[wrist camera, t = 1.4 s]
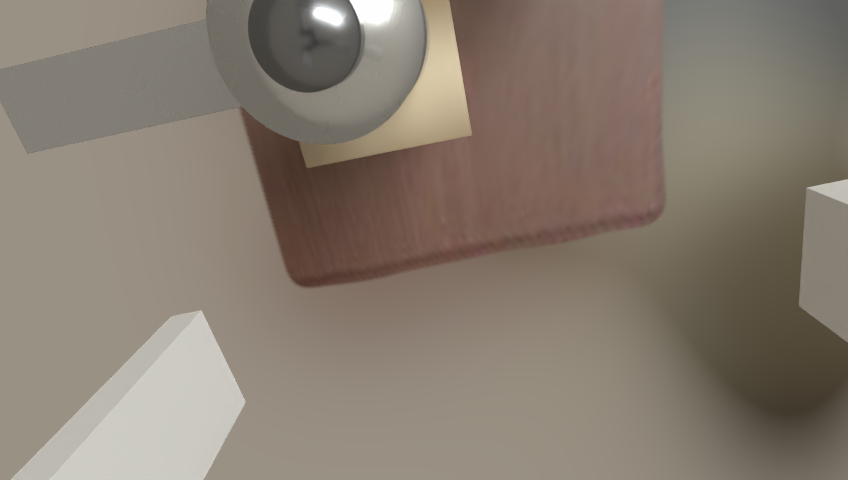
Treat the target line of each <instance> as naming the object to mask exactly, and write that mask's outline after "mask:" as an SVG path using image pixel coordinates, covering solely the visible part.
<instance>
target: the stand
mask: <svg viewBox="0 0 848 480" xmlns="http://www.w3.org/2000/svg"><path fill="white" fill-rule="evenodd" d="M421 1H422V3H423V6H424V8H425V11H426V13H427V17H428V21H429V27H430V50H429V55H428V60H427V63H426V66H425V68H424V71H423V73H422V75H421V77H420V79H419V80H418V82H417V83H416V85H415V86H414V87H413V89H412V90H411V92H410V93H409V95H408V96H407V98H406V99H405V101H404V102H403V103H402V105H401V106H400V108H399V109H398V110H397V111H396V112H395V113H394V114H393V115H392V117H391V118H390V119H389V120H387V121H386V122H385V123H384V124H382V125H381V126H380V127H379V128H377V129H375V130H374V131H372V132H370V133H369V134H367V135H365V136H362V137H360V138H358V139H355V140H351V141H348V142H344V143H337V144H311V143H304V142H300V141H299V144H300V148H301V151H302V154H303V158H304V161H305V164H306V167H307V168H311V167H316V166H321V165H326V164H331V163H336V162H341V161H346V160H351V159H356V158H361V157H366V156H370V155H375V154H380V153H385V152H390V151H395V150H400V149H405V148H410V147H415V146H420V145H425V144H430V143H435V142H440V141H445V140H450V139H455V138H460V137H465V136H470V135H472V133H471V127H470V121H469V115H468V109H467V103H466V97H465V91H464V85H463V79H462V73H461V67H460V61H459V55H458V50H457V44H456V38H455V32H454V26H453V20H452V14H451V8H450V2H449V0H421Z"/></svg>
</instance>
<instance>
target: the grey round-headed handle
mask: <svg viewBox="0 0 848 480" xmlns="http://www.w3.org/2000/svg"><path fill="white" fill-rule="evenodd" d="M429 50H430V27H429V21H428V17H427V13H426V11H425V8H424V6H423V3H422V1H421V0H207V10H206V19H205V20H201V21H197V22H193V23H189V24H185V25H181V26H177V27H173V28H168V29H164V30H160V31H156V32H153V33H148V34H144V35H140V36H136V37H131V38H128V39H124V40H119V41H115V42H111V43H107V44H103V45H99V46H94V47H90V48H86V49H82V50H78V51H74V52H70V53H66V54H62V55H58V56H53V57H49V58H45V59H42V60H37V61H33V62H29V63H25V64H21V65H17V66H12V67H8V68H4V69H0V102H1V103H2V106H3V107H4V109H5V111H6V113H7V115H8V117H9V119H10V121H11V123H12V125H13V126H14V129H15V130H16V132H17V134H18V136H19V138H20V140H21V142H22V144H23V146H24V148H25V150H26V152H27V153H33V152H37V151H42V150H46V149H51V148H55V147H59V146H64V145H69V144H74V143H78V142H83V141H87V140H92V139H96V138H101V137H105V136H110V135H115V134H119V133H124V132H128V131H133V130H137V129H142V128H146V127H151V126H155V125H160V124H164V123H169V122H174V121H178V120H183V119H187V118H192V117H196V116H201V115H205V114H210V113H215V112H219V111H224V110H228V109H233V108H237V107H243V108H244V109H245V110H246V111H247V112H248V113H249V114H250V115H251V116H252V117H254V118H255V119H256V120H257V121H259V122H260V123H261V124H263V125H264V126H266V127H267V128H269V129H271V130H272V131H274V132H276V133H278V134H280V135H282V136H285V137H287V138H290V139H293V140H296V141H300V142H304V143H311V144H337V143H344V142H348V141H351V140H355V139H358V138H360V137H362V136H365V135H367V134H369V133H370V132H372V131H374V130H375V129H377V128H379V127H380V126H381V125H382V124H384V123H385V122H386V121H387V120H389V119H390V118H391V117H392V115H393V114H394V113H395V112H396V111H397V110H398V109H399V108H400V106H401V105H402V103H403V102H404V101H405V99H406V98H407V96H408V95H409V93H410V92H411V90H412V89H413V87H414V86H415V85H416V83H417V82H418V80H419V79H420V77H421V75H422V73H423V71H424V68H425V66H426V63H427V60H428V55H429Z"/></svg>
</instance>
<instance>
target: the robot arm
mask: <svg viewBox="0 0 848 480" xmlns="http://www.w3.org/2000/svg"><path fill="white" fill-rule="evenodd" d="M803 237H804V238H803V252H802V267H801V282H800V297H799V306H800V307H801V308H802V309H804V310H805V311H806V312H808V313H809V314H810V315H812V316H813V317H814V318H816V319H817V320H819V321H820V322H821V323H823V324H824V325H825V326H827V327H828V328H829V329H831V330H832V331H833V332H835V333H836V334H837V335H839V336H840V337H841V338H843V339H844V340H846V341H847V342H848V180H843V181H838V182H833V183H828V184H823V185H818V186H813V187H808V188H807V191H806V207H805V222H804V236H803ZM244 404H245V400H244V398H243V396H242V394H241V392H240V389H239V387H238V385H237V383H236V381H235V379H234V377H233V375H232V373H231V371H230V369H229V367H228V365H227V363H226V360H225V358H224V356H223V354H222V352H221V350H220V348H219V346H218V344H217V342H216V340H215V338H214V336H213V333H212V331H211V329H210V327H209V325H208V323H207V321H206V319H205V317H204V315H203V313H202V311H201V310H200V311H195V312H190V313H185V314H180V315H175V316H172V317H170V318H169V319H168V320H167V321H166V322H165V323H164V324H163V325H162V326H161V327H160V328H159V329H158V330H157V331H156V332H155V333H154V334H153V336H152V337H151V338H150V339H149V340H148V341H147V342H146V343H145V344H144V345H143V346H142V347H141V348H140V349H139V350H138V351H137V352H136V353H135V354H134V355H133V356H132V357H131V358H130V359H129V360H128V361H127V362H126V363H125V364H124V365H123V366H122V367H121V368H120V369H119V370H118V371H117V372H116V373H115V374H114V375H113V376H112V377H111V378H110V379H109V380H108V381H107V382H106V383H105V385H103V386H102V387H101V388H100V389H99V390H98V391H97V392H96V394H95V395H93V397H92V398H91V399H90V400H89V401H88V402H87V403H86V404H85V405H84V406H83V407H82V408H81V409H80V410H79V411H78V412H77V413H76V414H75V415H74V416H73V417H72V418H71V419H70V420H69V421H68V422H67V423H66V424H65V425H64V426H63V427H62V428H61V429H60V430H59V431H58V432H57V433H56V434H55V435H54V436H53V437H52V438H51V439H50V440H49V441H48V442H47V443H46V444H45V445H44V446H43V447H42V448H41V449H40V450H39V451H38V452H37V454H36V455H35V456H34V457H33V458H32V459H31V460H30V461H29V462H28V463H27V464H26V465H25V466H24V467H23V468H22V469H21V470H20V471H19V472H18V473H17V474H16V475H15V476H14V477H13V478H12V479H11V480H203V479H204V478H205V476H206V474H207V472H208V470H209V468H210V467H211V465H212V463H213V461H214V459H215V457H216V456H217V454H218V452H219V450H220V448H221V446H222V444H223V443H224V441H225V439H226V437H227V435H228V433H229V432H230V430H231V428H232V426H233V424H234V422H235V421H236V419H237V417H238V415H239V413H240V411H241V410H242V408H243V406H244Z"/></svg>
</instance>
